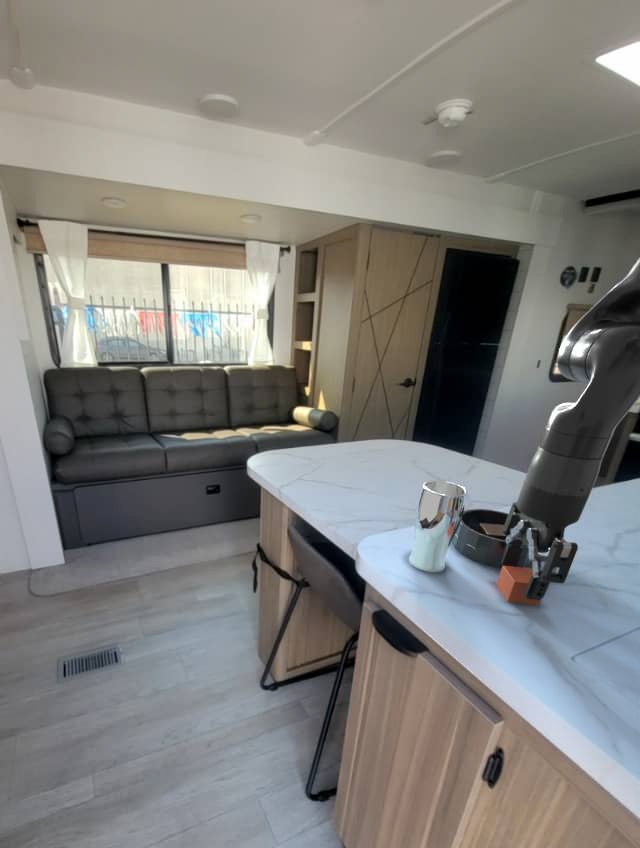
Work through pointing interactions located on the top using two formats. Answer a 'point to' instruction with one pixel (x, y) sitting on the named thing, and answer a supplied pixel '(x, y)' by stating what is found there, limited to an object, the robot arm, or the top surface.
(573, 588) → the top surface
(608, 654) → the top surface
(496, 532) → the walnut block
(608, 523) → the top surface
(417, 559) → the beer glass
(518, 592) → the terracotta block
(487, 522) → the shallow dark bowl
